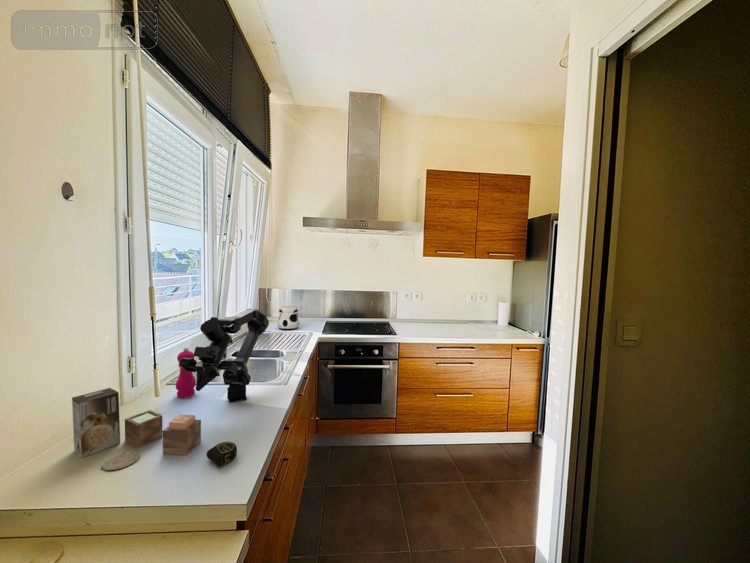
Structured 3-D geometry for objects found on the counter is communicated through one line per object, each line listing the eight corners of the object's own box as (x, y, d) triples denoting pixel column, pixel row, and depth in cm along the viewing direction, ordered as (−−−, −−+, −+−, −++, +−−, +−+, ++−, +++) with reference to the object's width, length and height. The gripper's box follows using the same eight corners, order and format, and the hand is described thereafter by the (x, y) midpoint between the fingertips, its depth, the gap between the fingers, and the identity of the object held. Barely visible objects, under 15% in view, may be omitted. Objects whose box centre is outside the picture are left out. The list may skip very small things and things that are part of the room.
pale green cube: (148, 426, 100) (148, 412, 100) (156, 430, 98) (156, 416, 98) (131, 433, 96) (130, 419, 96) (139, 438, 94) (139, 423, 94)
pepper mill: (171, 396, 127) (171, 348, 126) (189, 390, 134) (189, 344, 133) (182, 400, 124) (182, 351, 123) (199, 393, 130) (199, 346, 129)
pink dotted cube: (180, 428, 96) (179, 414, 95) (195, 429, 95) (195, 414, 95) (169, 437, 91) (168, 421, 91) (185, 438, 91) (184, 422, 90)
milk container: (273, 328, 260) (274, 306, 259) (292, 325, 271) (293, 305, 270) (283, 331, 247) (283, 309, 246) (302, 329, 259) (303, 307, 258)
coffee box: (112, 436, 98) (111, 386, 97) (120, 443, 94) (120, 391, 94) (72, 451, 90) (71, 397, 89) (80, 459, 87) (79, 403, 86)
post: (150, 430, 102) (149, 409, 101) (162, 436, 99) (162, 415, 98) (125, 441, 96) (124, 419, 95) (137, 448, 92) (137, 425, 92)
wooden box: (178, 440, 97) (178, 418, 97) (200, 441, 97) (200, 419, 96) (162, 454, 90) (162, 430, 90) (186, 455, 90) (186, 432, 89)
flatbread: (135, 450, 92) (135, 447, 92) (142, 462, 87) (142, 458, 87) (99, 463, 85) (98, 460, 85) (104, 476, 81) (104, 473, 80)
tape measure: (205, 461, 88) (205, 448, 88) (229, 449, 94) (229, 437, 93) (217, 471, 84) (217, 458, 84) (241, 459, 89) (241, 446, 89)
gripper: (182, 334, 107) (157, 377, 97) (233, 337, 106) (213, 381, 95) (197, 350, 116) (175, 392, 105) (245, 354, 114) (228, 396, 104)
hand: (197, 390), depth 102 cm, fingers closed
